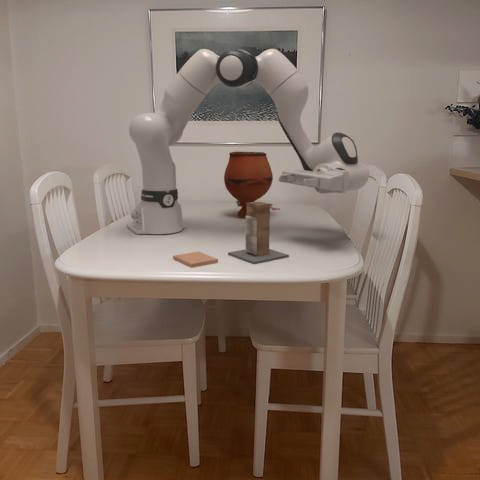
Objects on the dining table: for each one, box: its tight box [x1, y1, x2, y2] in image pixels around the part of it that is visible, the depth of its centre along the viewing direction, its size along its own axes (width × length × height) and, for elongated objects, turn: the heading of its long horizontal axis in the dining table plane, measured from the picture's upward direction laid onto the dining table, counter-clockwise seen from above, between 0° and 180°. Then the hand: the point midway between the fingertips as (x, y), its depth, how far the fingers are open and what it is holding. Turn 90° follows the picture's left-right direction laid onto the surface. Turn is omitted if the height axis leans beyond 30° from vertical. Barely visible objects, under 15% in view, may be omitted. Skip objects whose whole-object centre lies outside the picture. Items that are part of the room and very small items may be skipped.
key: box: [269, 203, 281, 211], centre depth 216 cm, size 6×1×15 cm
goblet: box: [223, 151, 274, 219], centre depth 192 cm, size 19×19×25 cm
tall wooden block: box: [245, 201, 271, 257], centre depth 134 cm, size 5×5×14 cm
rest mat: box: [227, 248, 290, 265], centre depth 136 cm, size 12×12×1 cm
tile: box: [172, 251, 219, 269], centre depth 131 cm, size 10×2×8 cm
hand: (291, 180), depth 139 cm, fingers open, 8 cm apart
